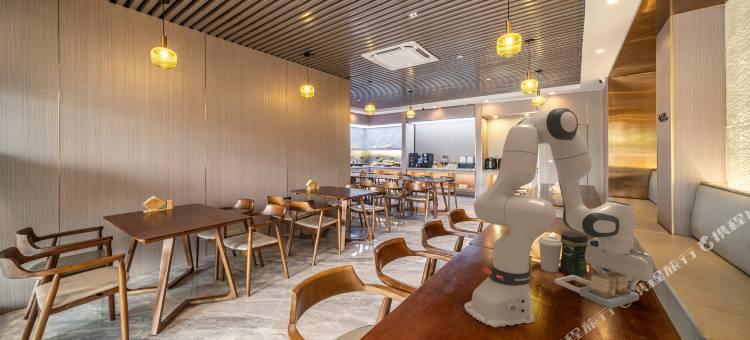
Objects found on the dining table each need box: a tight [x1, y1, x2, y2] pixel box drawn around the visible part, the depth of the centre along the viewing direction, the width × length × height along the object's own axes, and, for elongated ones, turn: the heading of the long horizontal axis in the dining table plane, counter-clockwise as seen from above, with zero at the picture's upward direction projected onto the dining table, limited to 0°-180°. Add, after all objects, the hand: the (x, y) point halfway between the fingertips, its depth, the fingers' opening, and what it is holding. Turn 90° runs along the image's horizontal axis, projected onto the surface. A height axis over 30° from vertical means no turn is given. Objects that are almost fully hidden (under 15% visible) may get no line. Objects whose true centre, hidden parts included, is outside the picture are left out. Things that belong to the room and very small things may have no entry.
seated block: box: [590, 273, 616, 300], centre depth 104 cm, size 5×5×8 cm
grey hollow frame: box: [579, 287, 640, 309], centre depth 105 cm, size 16×10×3 cm, turn 112°
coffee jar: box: [559, 230, 589, 277], centre depth 129 cm, size 10×8×19 cm
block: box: [604, 271, 628, 296], centre depth 107 cm, size 5×5×8 cm
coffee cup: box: [537, 235, 563, 273], centre depth 132 cm, size 10×10×15 cm
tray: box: [554, 274, 591, 294], centre depth 115 cm, size 11×10×2 cm
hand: (615, 283), depth 107 cm, fingers open, 8 cm apart
